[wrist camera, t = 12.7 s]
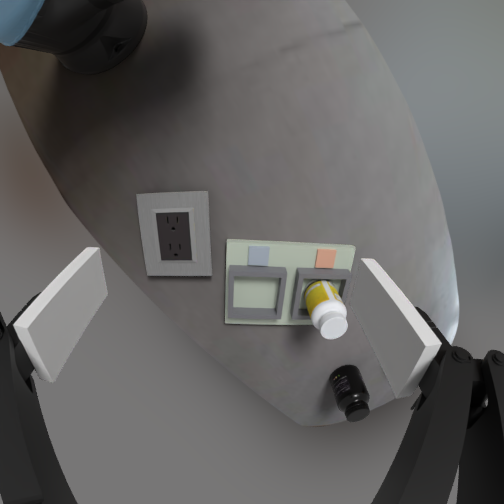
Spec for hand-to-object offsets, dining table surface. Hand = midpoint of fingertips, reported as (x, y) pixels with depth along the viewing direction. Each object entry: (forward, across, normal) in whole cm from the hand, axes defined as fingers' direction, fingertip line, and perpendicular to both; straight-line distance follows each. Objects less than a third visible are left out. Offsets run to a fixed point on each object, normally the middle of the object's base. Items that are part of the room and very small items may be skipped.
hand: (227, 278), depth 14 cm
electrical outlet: (+29, -9, -9) cm, 32 cm away
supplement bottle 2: (+29, +25, -40) cm, 55 cm away
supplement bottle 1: (+28, +14, -18) cm, 36 cm away
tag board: (+29, +9, -17) cm, 35 cm away
